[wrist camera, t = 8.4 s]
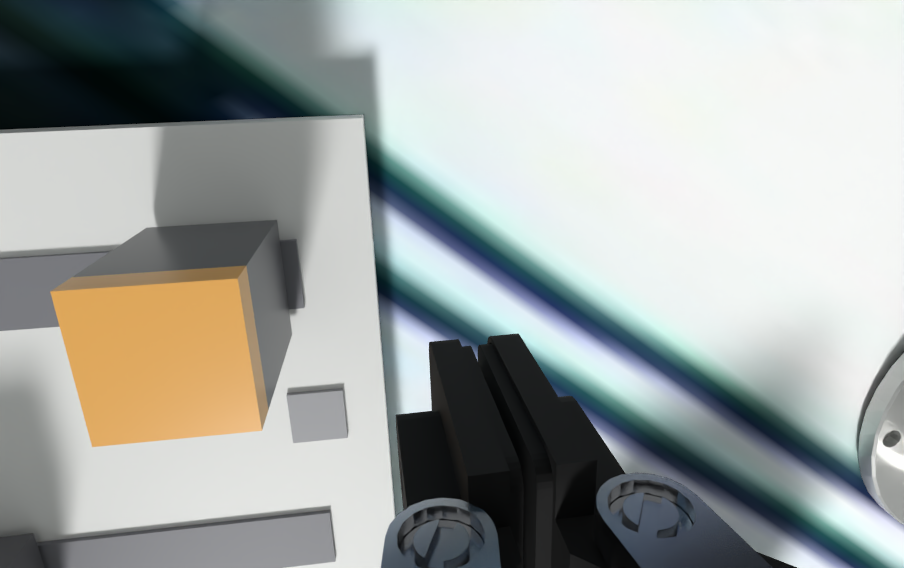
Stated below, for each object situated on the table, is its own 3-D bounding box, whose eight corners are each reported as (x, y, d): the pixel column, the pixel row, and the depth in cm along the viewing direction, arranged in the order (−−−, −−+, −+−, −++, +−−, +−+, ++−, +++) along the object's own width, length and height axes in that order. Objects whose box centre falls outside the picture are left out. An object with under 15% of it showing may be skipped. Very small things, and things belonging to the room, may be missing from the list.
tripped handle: (276, 219, 19) (237, 278, 14) (292, 334, 21) (261, 430, 15) (146, 227, 19) (49, 291, 13) (170, 343, 20) (92, 447, 14)
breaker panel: (363, 114, 21) (362, 118, 19) (399, 567, 27) (401, 606, 25) (-281, 141, 19) (-361, 149, 17) (-75, 625, 25) (-114, 673, 23)
